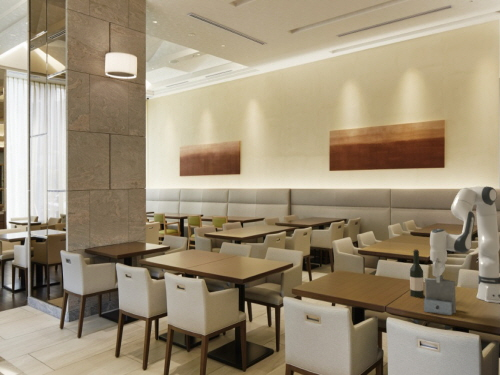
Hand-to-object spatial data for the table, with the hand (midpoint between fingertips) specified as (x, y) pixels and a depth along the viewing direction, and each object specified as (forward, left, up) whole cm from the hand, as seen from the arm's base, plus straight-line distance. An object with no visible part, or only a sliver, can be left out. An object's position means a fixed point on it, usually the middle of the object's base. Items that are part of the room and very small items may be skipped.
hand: (438, 281), depth 230 cm
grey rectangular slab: (0, 0, -17) cm, 17 cm away
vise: (0, 0, -17) cm, 17 cm away
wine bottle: (+17, -26, -17) cm, 35 cm away
